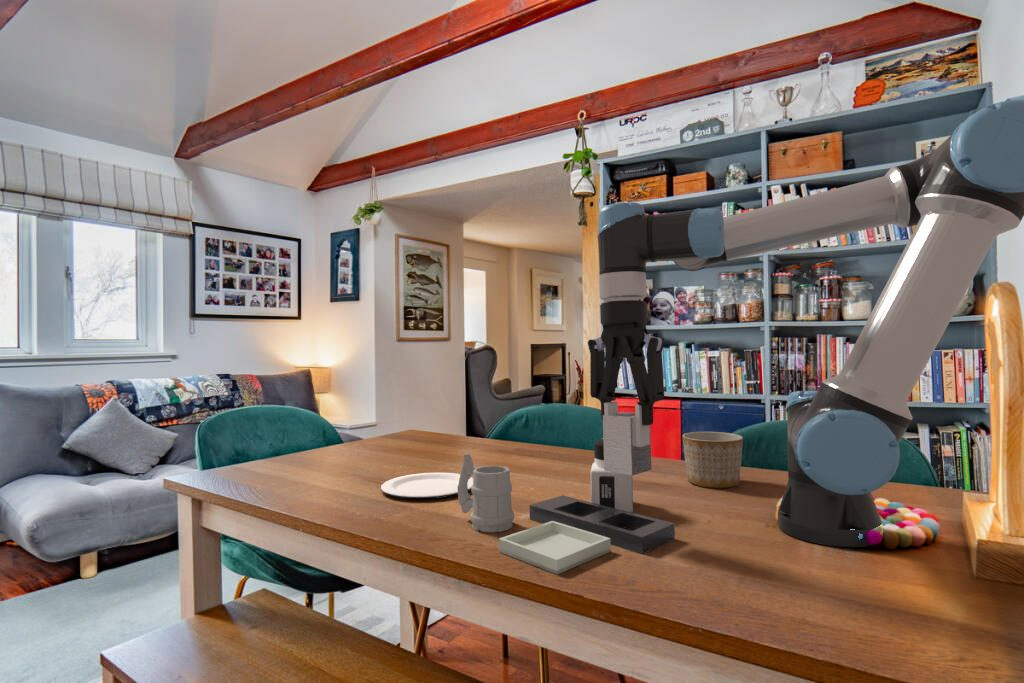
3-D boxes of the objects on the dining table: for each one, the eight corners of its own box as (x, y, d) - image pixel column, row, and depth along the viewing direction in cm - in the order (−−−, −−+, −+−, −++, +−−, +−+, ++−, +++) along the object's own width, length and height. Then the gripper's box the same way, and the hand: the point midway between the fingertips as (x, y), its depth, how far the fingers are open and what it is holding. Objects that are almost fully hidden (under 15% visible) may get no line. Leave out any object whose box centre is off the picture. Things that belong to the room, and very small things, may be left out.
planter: (748, 480, 127) (747, 433, 127) (737, 493, 117) (736, 442, 117) (691, 473, 134) (690, 430, 134) (676, 485, 123) (675, 438, 123)
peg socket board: (674, 538, 90) (674, 523, 90) (642, 554, 84) (642, 537, 84) (563, 508, 108) (562, 495, 108) (529, 518, 102) (529, 505, 102)
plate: (494, 492, 121) (494, 484, 121) (404, 510, 110) (404, 501, 110) (448, 474, 139) (448, 467, 139) (366, 488, 127) (366, 480, 127)
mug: (495, 536, 93) (494, 463, 93) (444, 523, 100) (443, 455, 100) (523, 524, 99) (522, 456, 99) (473, 512, 106) (472, 449, 106)
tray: (610, 551, 85) (610, 538, 85) (557, 574, 77) (556, 559, 77) (552, 532, 94) (552, 520, 94) (499, 551, 86) (498, 538, 86)
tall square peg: (651, 469, 91) (649, 413, 91) (632, 475, 88) (630, 416, 88) (624, 465, 95) (622, 410, 95) (604, 470, 92) (602, 414, 92)
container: (633, 513, 104) (631, 443, 104) (590, 511, 106) (589, 442, 106) (632, 501, 112) (631, 436, 112) (593, 500, 113) (592, 435, 113)
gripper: (686, 297, 87) (690, 446, 87) (593, 305, 101) (596, 434, 101) (659, 295, 82) (664, 453, 82) (565, 304, 96) (569, 440, 96)
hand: (627, 443), depth 92 cm, fingers closed on tall square peg, 5 cm apart
